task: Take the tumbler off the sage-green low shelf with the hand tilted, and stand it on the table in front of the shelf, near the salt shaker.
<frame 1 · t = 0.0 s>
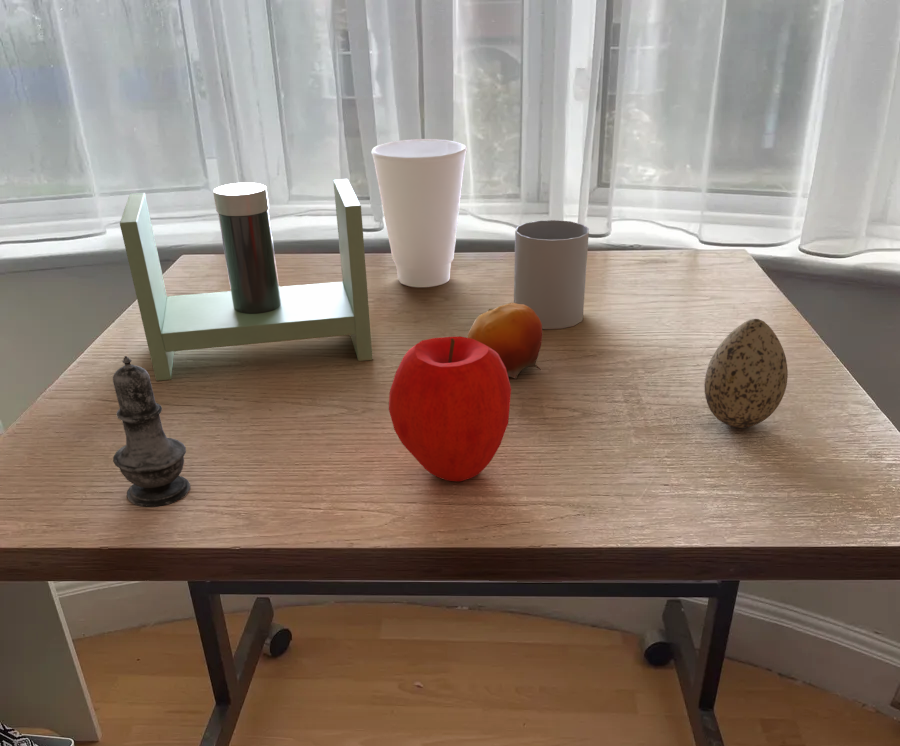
salt shaker: (159, 492, 77), on the table
shelf: (264, 349, 102), on the table
fruit: (504, 370, 96), on the table
decorative egg: (736, 426, 85), on the table
cup 2: (424, 280, 121), on the table
apple: (452, 475, 78), on the table
tumbler: (257, 305, 99), point 5 cm above the table, touching shelf
cup: (548, 318, 108), on the table
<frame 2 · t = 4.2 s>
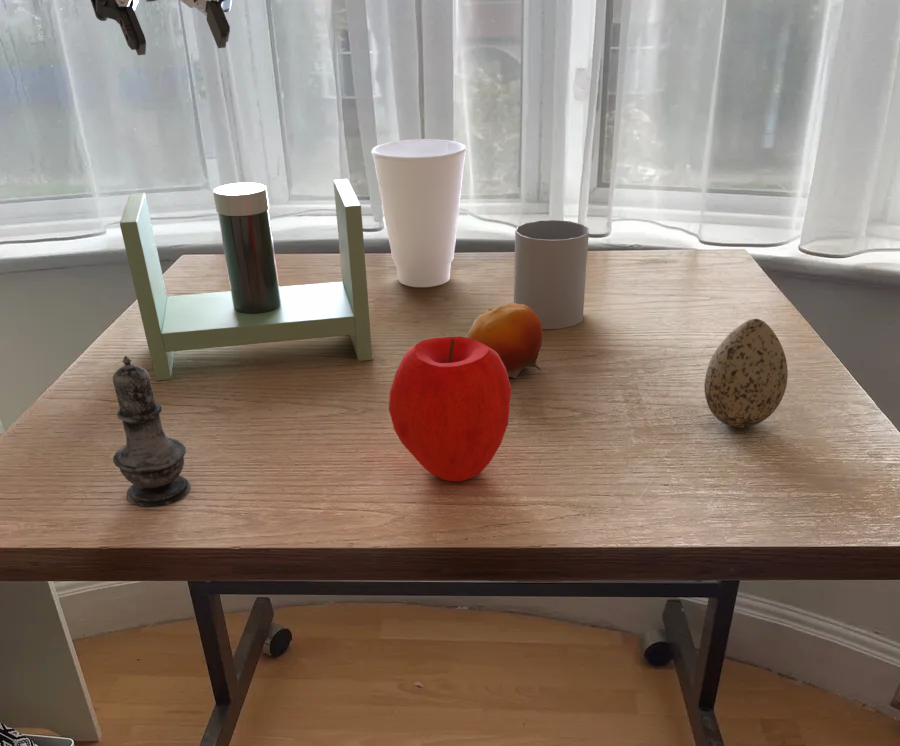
hand: (183, 45, 92), 29 cm above the table, tool tilted 45°, fingers open, 8 cm apart
nothing on the table moved.
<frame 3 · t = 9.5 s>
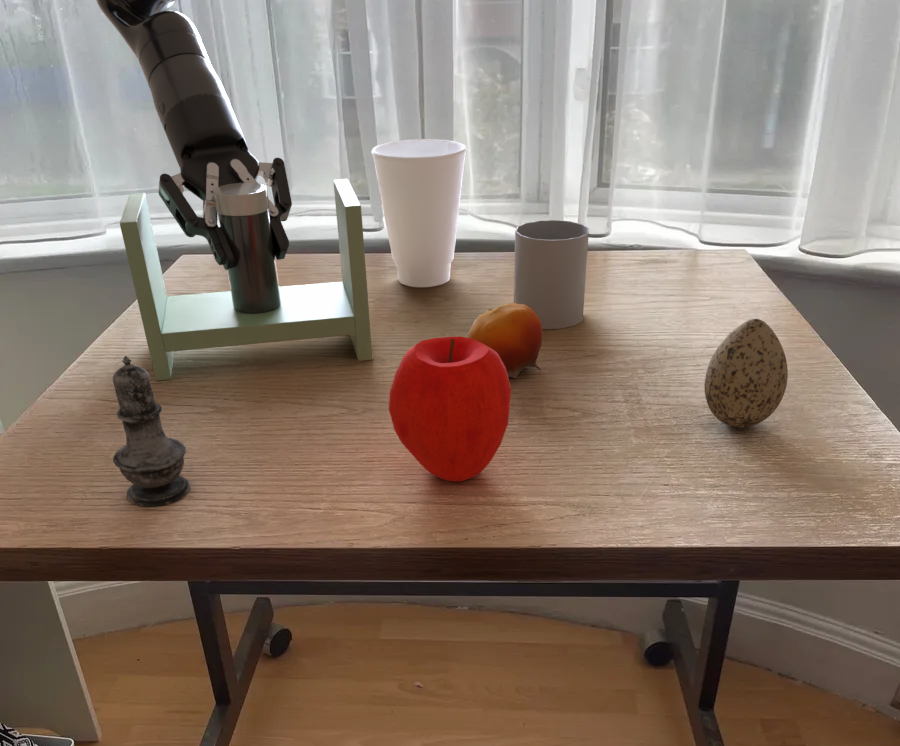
hand: (256, 259, 94), 10 cm above the table, tool tilted 45°, fingers closed on tumbler, 5 cm apart
tumbler: (257, 305, 99), point 5 cm above the table, touching gripper, shelf
everything else where it was.
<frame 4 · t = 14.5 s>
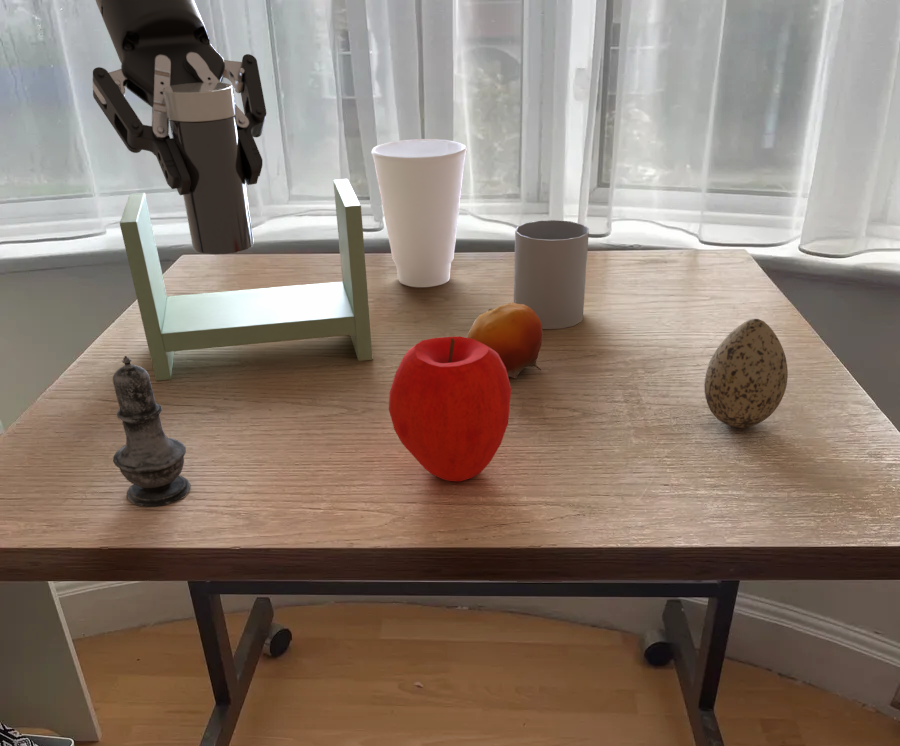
hand: (219, 182, 73), 22 cm above the table, tool tilted 45°, fingers closed on tumbler, 5 cm apart
tumbler: (223, 245, 78), point 16 cm above the table, touching gripper
everything else where it was.
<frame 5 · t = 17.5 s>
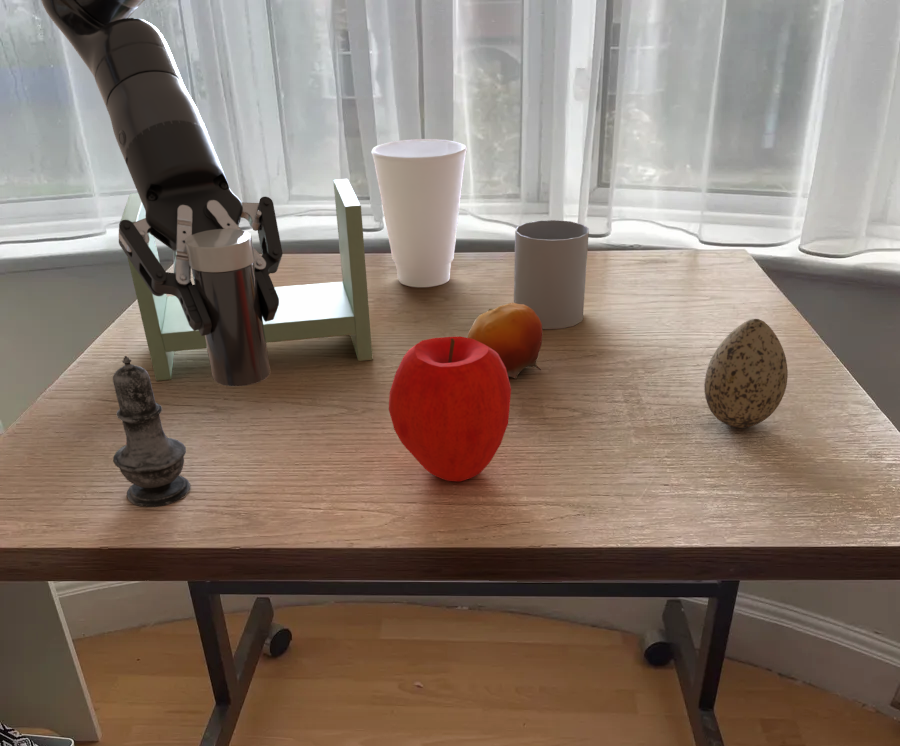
hand: (238, 323, 77), 11 cm above the table, tool tilted 45°, fingers closed on tumbler, 5 cm apart
tumbler: (241, 374, 82), point 6 cm above the table, touching gripper
everything else where it was.
when the fingers open (5 cm above the table, at t = 19.6 s): tumbler stays where it is, on the table.
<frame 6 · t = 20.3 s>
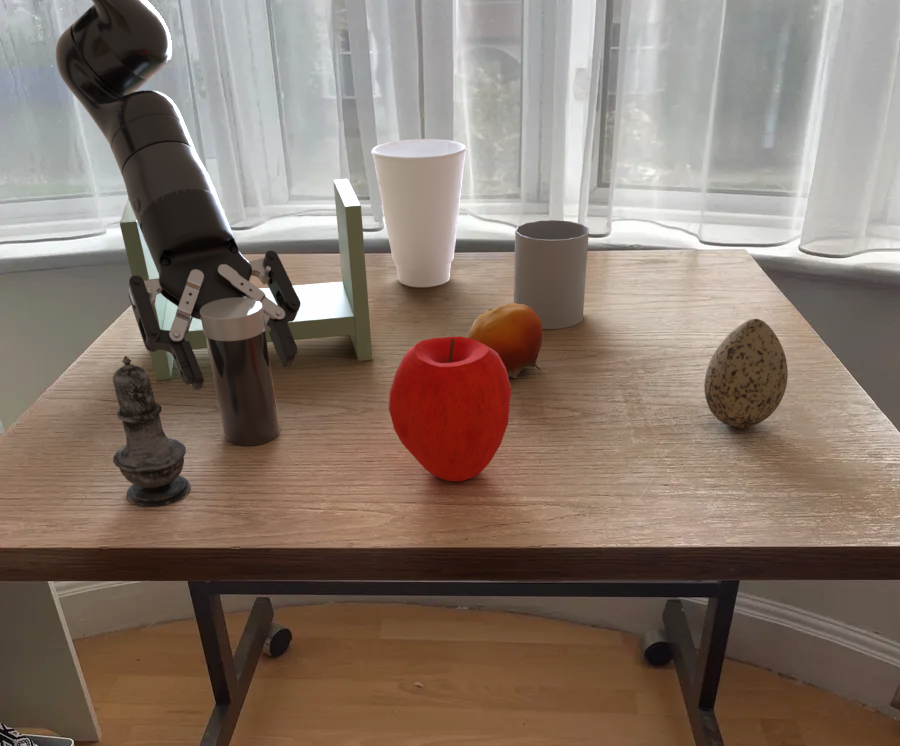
hand: (245, 374, 80), 6 cm above the table, tool tilted 45°, fingers open, 8 cm apart
tumbler: (252, 433, 85), on the table
everything else where it was.
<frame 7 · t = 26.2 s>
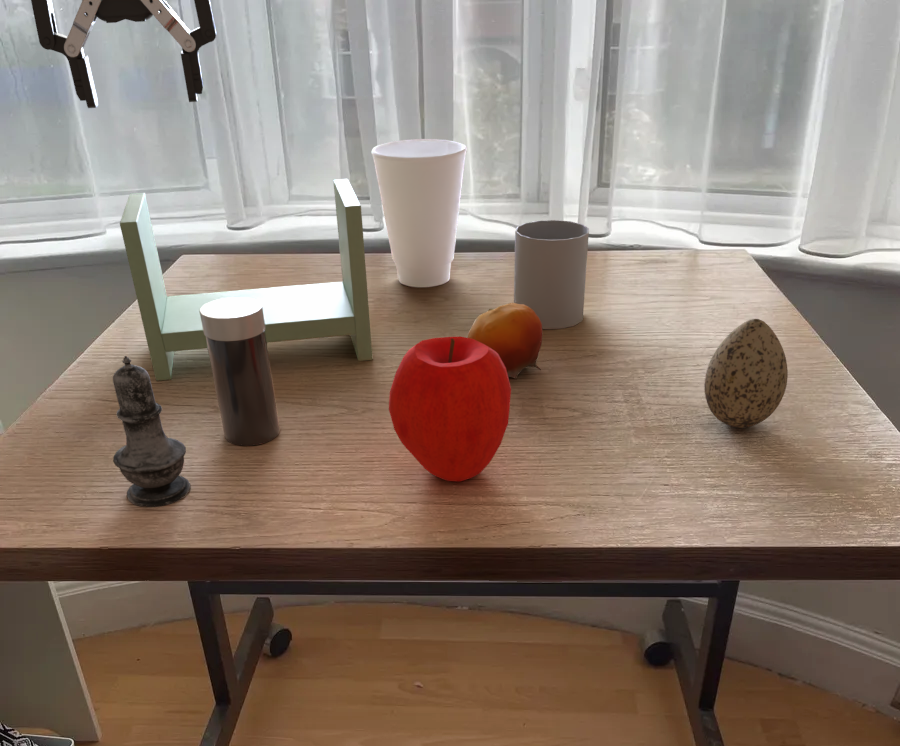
hand: (143, 103, 79), 26 cm above the table, tool pointing down, fingers open, 8 cm apart
nothing on the table moved.
at the end: tumbler on the table; tumbler tilted 0°; tumbler 12.2 cm from the salt shaker (horizontally) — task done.
